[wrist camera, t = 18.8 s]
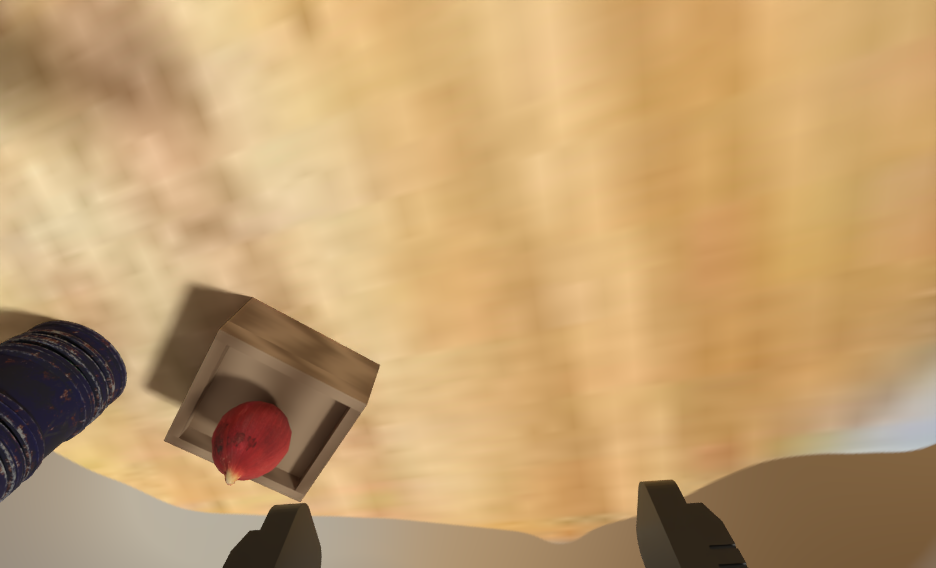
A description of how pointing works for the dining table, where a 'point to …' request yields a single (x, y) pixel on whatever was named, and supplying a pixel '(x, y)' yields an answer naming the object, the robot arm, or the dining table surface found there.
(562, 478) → the dining table surface
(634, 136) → the dining table surface
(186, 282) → the dining table surface
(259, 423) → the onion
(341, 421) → the wooden square tray
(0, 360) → the storage jar
